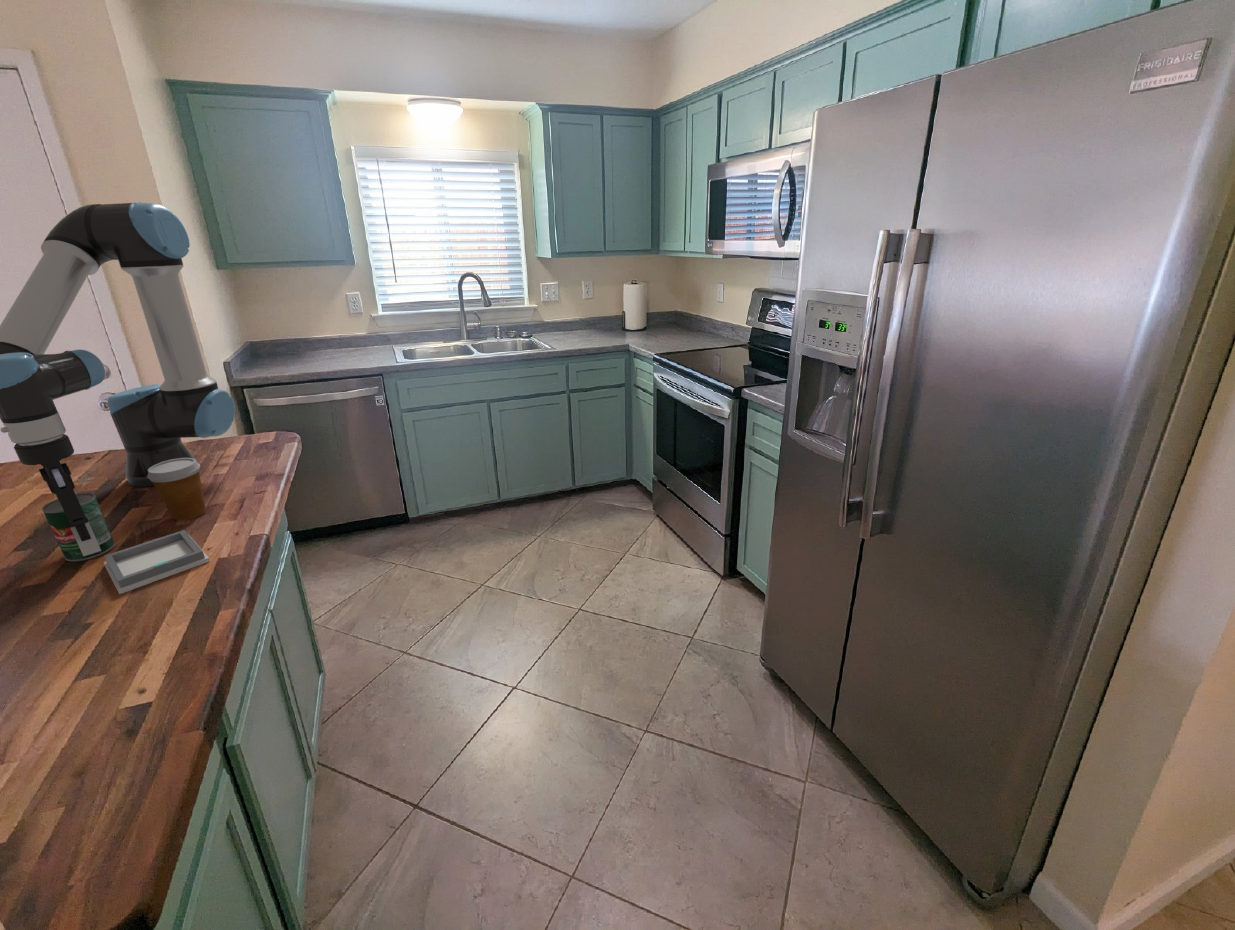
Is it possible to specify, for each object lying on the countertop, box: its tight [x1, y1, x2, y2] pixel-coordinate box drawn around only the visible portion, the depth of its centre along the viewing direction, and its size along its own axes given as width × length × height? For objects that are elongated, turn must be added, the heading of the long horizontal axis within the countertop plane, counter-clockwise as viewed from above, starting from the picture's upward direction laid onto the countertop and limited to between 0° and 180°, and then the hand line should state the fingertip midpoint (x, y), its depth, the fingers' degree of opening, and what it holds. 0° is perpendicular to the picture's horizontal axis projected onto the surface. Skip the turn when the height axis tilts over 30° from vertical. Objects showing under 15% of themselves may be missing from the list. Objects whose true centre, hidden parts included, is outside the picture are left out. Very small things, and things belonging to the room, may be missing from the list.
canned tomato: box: [41, 492, 116, 563], centre depth 115 cm, size 8×8×11 cm
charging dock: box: [103, 529, 211, 595], centre depth 112 cm, size 14×14×2 cm
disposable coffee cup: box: [147, 458, 207, 521], centre depth 129 cm, size 10×10×12 cm
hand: (88, 545), depth 117 cm, fingers closed on canned tomato, 8 cm apart
